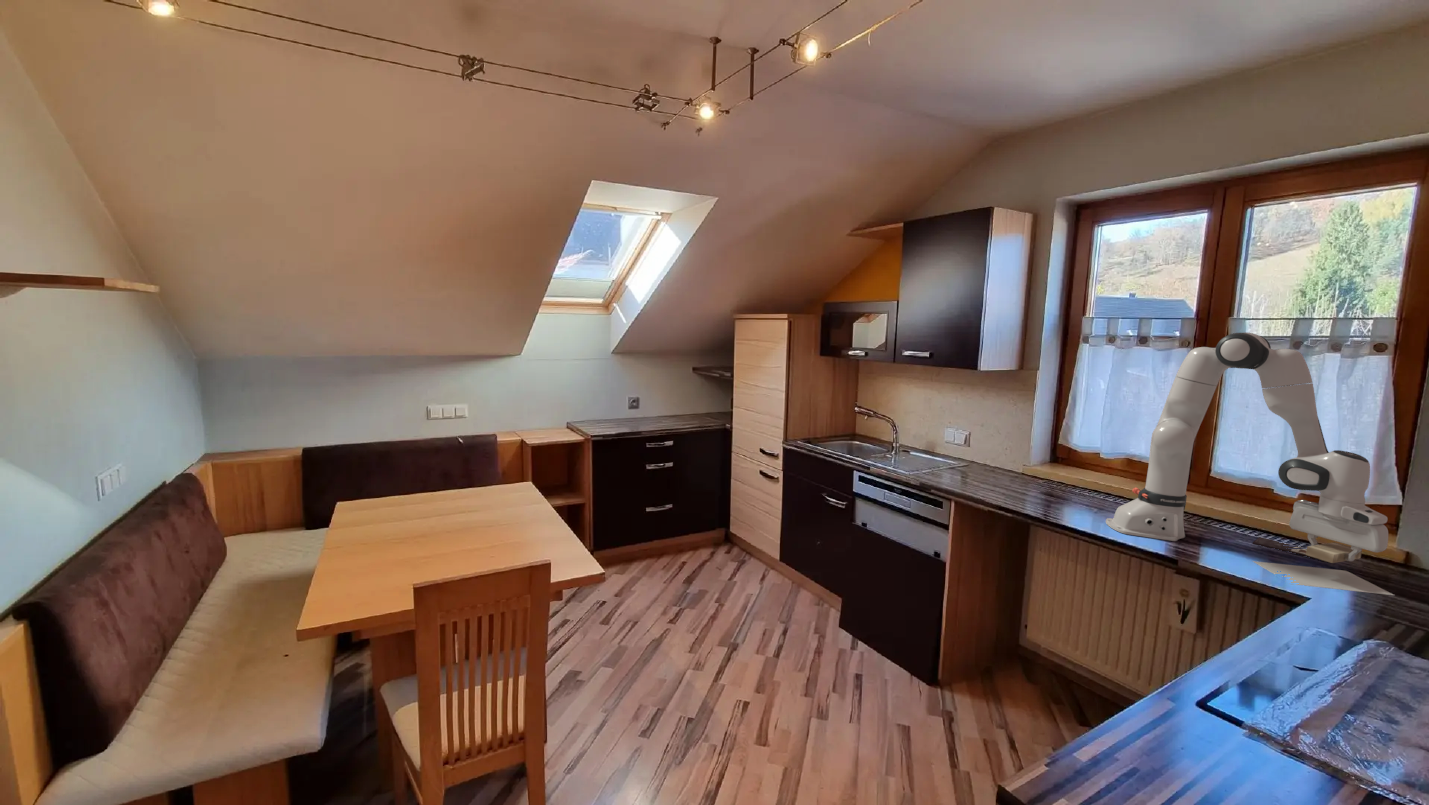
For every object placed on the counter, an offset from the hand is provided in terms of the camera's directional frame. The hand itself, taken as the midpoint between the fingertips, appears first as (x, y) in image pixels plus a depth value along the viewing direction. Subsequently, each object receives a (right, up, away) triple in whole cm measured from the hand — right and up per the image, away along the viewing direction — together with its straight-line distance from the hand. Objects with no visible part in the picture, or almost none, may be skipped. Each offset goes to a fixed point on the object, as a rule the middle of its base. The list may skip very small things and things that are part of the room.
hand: (1331, 555), depth 171 cm
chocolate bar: (+10, -5, +22) cm, 24 cm away
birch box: (+7, +1, +2) cm, 7 cm away
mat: (-4, -7, 0) cm, 8 cm away
